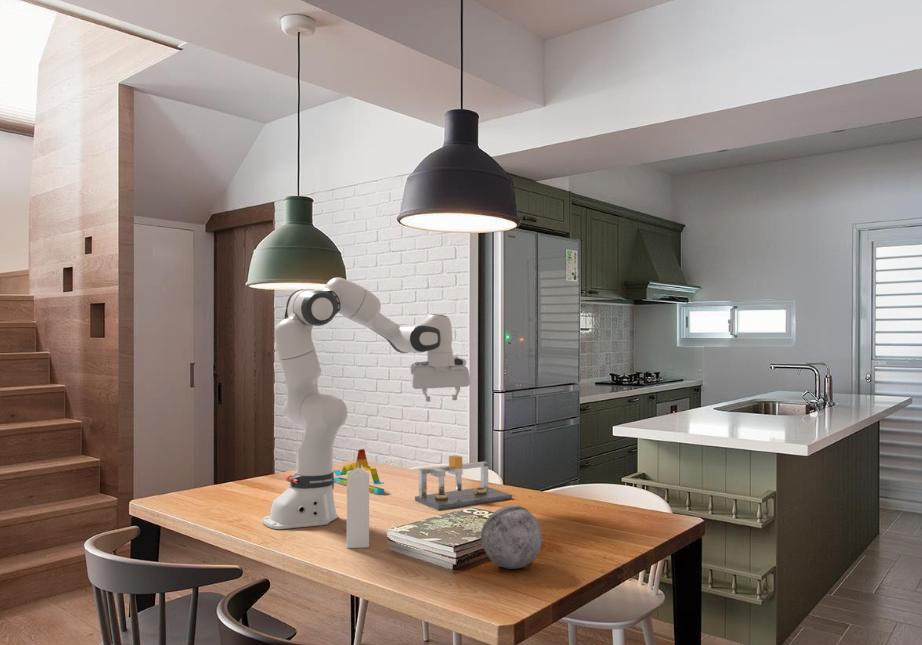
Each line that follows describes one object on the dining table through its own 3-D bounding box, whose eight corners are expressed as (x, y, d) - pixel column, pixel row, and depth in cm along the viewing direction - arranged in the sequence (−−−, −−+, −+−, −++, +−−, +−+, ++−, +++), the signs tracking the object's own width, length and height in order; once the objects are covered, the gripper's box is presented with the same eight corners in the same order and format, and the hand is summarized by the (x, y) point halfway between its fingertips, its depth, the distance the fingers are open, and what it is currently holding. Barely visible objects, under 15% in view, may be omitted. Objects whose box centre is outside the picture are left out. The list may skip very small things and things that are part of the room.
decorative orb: (521, 554, 179) (521, 496, 179) (554, 571, 166) (554, 508, 167) (471, 563, 172) (471, 503, 172) (501, 581, 159) (501, 516, 159)
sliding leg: (456, 491, 238) (456, 457, 239) (448, 488, 243) (448, 455, 243) (463, 490, 240) (463, 457, 240) (455, 487, 245) (455, 455, 245)
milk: (368, 541, 191) (369, 461, 192) (369, 547, 185) (369, 465, 186) (346, 542, 190) (347, 461, 191) (346, 548, 185) (347, 465, 185)
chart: (332, 482, 272) (332, 444, 272) (339, 481, 274) (339, 443, 274) (376, 495, 249) (376, 453, 250) (384, 494, 251) (384, 452, 252)
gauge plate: (438, 510, 226) (438, 476, 226) (414, 500, 240) (414, 468, 240) (511, 498, 242) (511, 467, 243) (485, 490, 256) (485, 460, 256)
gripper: (411, 362, 234) (412, 403, 234) (470, 360, 238) (471, 400, 238) (409, 361, 241) (410, 401, 240) (466, 359, 245) (467, 398, 245)
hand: (441, 400), depth 239 cm, fingers open, 8 cm apart
